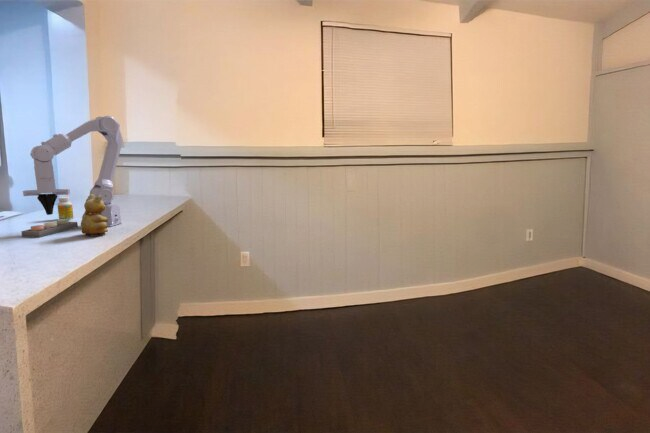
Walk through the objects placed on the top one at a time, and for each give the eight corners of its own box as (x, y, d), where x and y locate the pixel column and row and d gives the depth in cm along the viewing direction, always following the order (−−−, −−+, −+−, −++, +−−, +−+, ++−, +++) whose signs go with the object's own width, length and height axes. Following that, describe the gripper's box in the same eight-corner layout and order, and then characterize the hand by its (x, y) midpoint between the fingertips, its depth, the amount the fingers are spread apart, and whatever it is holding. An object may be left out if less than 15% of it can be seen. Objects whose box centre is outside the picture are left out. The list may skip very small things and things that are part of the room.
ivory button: (60, 227, 153) (59, 222, 152) (51, 229, 149) (51, 224, 148) (50, 226, 153) (49, 221, 153) (42, 229, 149) (41, 223, 149)
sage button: (71, 224, 158) (71, 219, 158) (64, 226, 154) (63, 221, 154) (62, 223, 159) (62, 219, 159) (54, 225, 155) (54, 220, 155)
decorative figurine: (113, 234, 147) (109, 194, 145) (92, 239, 140) (88, 196, 137) (95, 231, 151) (91, 192, 149) (74, 236, 144) (70, 195, 141)
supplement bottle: (66, 220, 172) (64, 198, 170) (56, 220, 173) (53, 198, 171) (76, 218, 177) (74, 196, 175) (66, 217, 178) (63, 196, 176)
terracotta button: (47, 230, 147) (46, 225, 146) (38, 233, 143) (37, 227, 142) (37, 230, 147) (36, 225, 147) (28, 232, 143) (27, 227, 143)
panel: (77, 226, 160) (77, 221, 159) (39, 237, 142) (38, 232, 141) (62, 226, 161) (61, 221, 160) (22, 236, 142) (21, 231, 142)
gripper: (70, 176, 153) (74, 211, 156) (26, 177, 149) (31, 213, 152) (64, 178, 147) (69, 214, 149) (18, 179, 142) (23, 216, 145)
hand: (49, 214), depth 150 cm, fingers closed
